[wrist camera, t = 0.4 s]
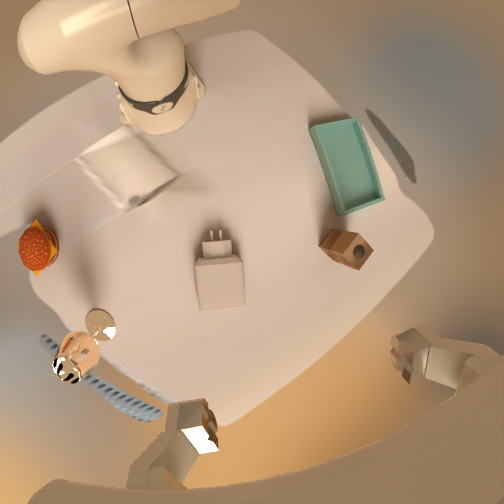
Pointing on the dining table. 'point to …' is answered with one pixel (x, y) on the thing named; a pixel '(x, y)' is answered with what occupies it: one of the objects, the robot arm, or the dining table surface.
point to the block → (346, 248)
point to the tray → (347, 165)
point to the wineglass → (82, 348)
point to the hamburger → (38, 247)
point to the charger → (219, 276)
